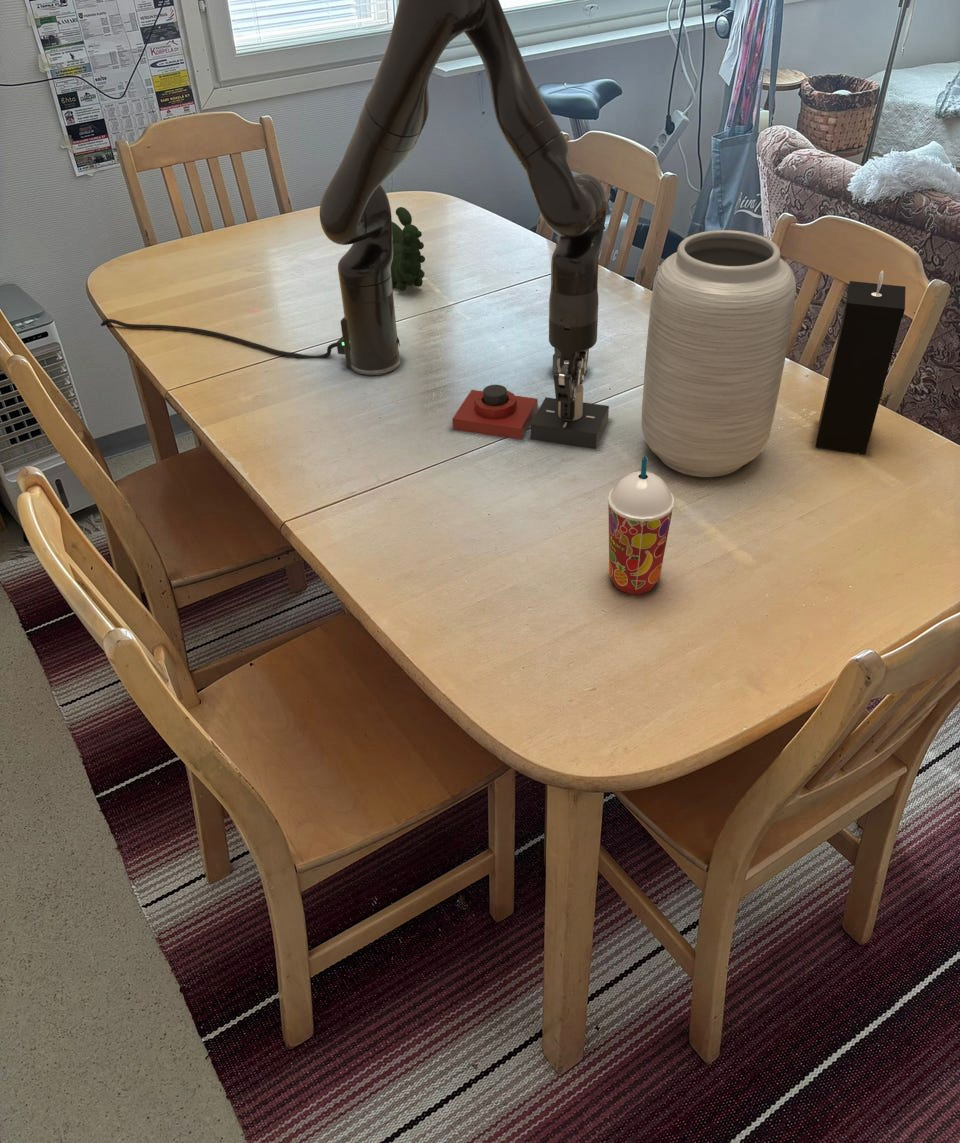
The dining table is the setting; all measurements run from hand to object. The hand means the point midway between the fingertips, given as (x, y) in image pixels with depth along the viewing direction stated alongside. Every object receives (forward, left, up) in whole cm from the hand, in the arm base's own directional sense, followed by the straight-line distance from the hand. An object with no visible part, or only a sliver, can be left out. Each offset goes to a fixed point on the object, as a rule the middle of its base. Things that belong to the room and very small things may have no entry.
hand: (571, 411), depth 159 cm
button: (-13, 0, 0) cm, 13 cm away
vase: (+22, -1, -4) cm, 22 cm away
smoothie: (+18, -35, -4) cm, 39 cm away
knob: (0, 0, -1) cm, 1 cm away
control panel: (0, 0, -4) cm, 4 cm away
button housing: (-13, 0, -4) cm, 14 cm away
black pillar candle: (+43, +9, -4) cm, 44 cm away
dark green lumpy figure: (-52, +50, -4) cm, 72 cm away
